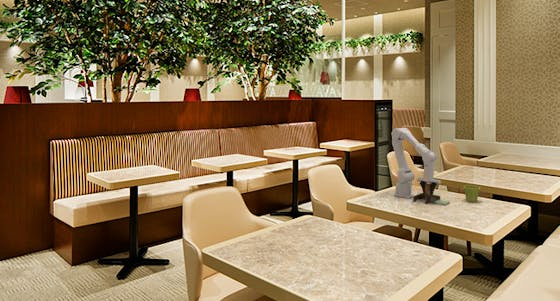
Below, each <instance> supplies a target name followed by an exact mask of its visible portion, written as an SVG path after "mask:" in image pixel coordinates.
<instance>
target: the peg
mask: <svg viewBox="0 0 560 301" xmlns="http://www.w3.org/2000/svg"><path fill="white" fill-rule="evenodd" d="M430 184H431V183H427V184H425V198H427V197H432V195H431V194H430V193H431V187H430Z"/></svg>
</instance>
